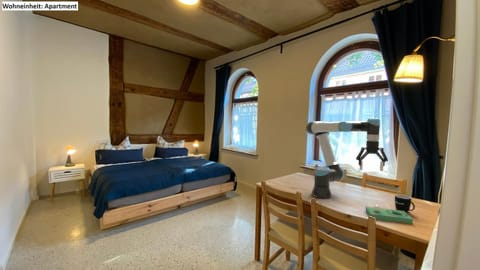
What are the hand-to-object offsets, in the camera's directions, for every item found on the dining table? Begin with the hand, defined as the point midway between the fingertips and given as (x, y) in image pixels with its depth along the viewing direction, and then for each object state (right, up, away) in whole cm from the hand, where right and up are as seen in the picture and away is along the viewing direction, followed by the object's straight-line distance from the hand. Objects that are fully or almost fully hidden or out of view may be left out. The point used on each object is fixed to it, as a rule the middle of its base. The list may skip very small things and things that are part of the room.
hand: (371, 170), depth 150 cm
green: (+2, -28, -14) cm, 31 cm away
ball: (-4, -23, -12) cm, 26 cm away
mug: (+19, -28, -6) cm, 34 cm away
